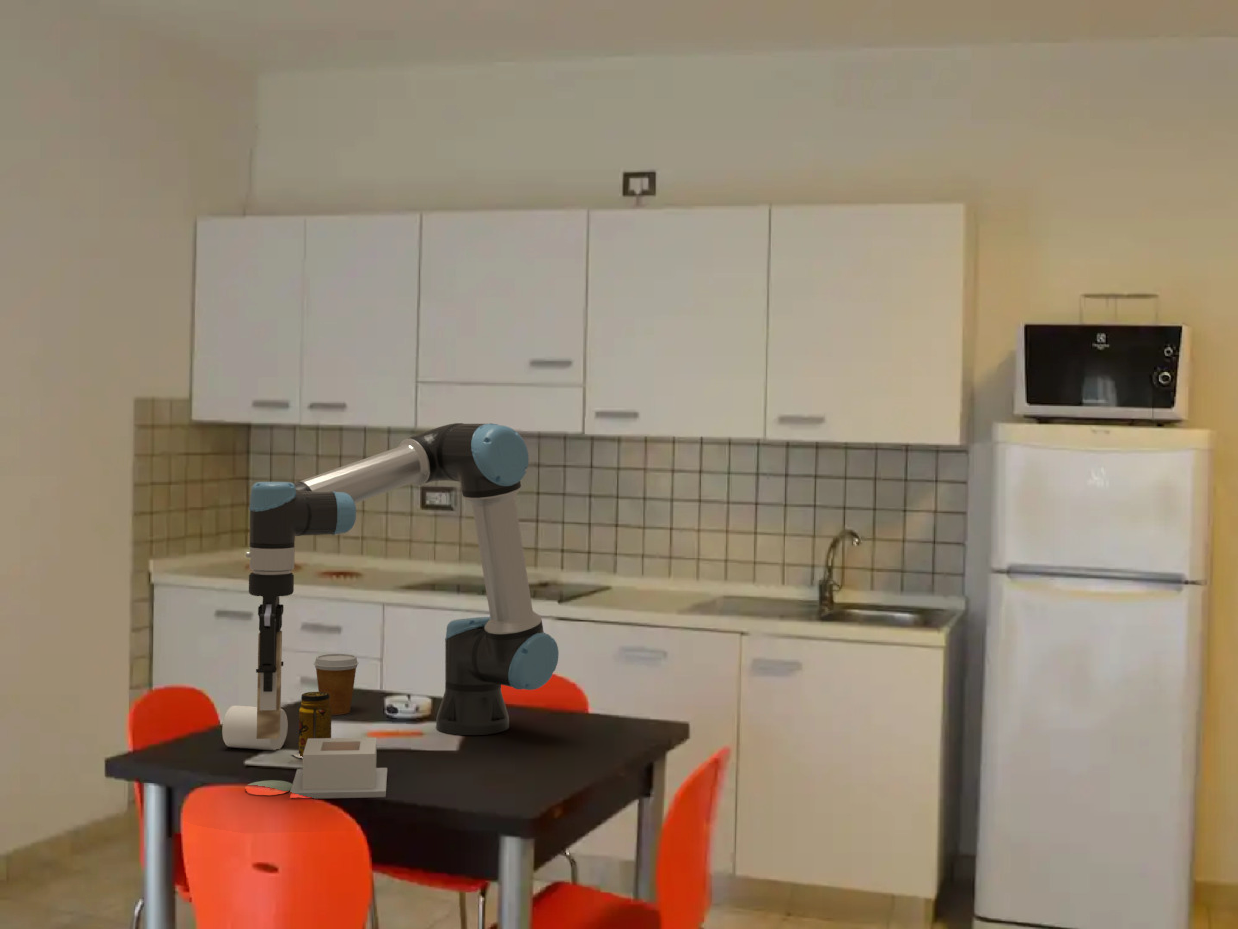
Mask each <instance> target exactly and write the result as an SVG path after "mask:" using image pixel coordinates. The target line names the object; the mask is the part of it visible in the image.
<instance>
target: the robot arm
mask: <svg viewBox="0 0 1238 929" xmlns="http://www.w3.org/2000/svg"><path fill="white" fill-rule="evenodd" d="M525 442H526V441H525V440H524V438H523V437H522V436H521V435H520V433H518V432H517V431H516V430H514V428H511V427H510V426H507V425H500V424H498V423H490V422H489V423H463V422H461V423H458V422H454V423H449V424H445V425H441V426H438V427H436V428H432V429H429V430H426V431H423V432H421V433H419V434H416V435H413V436H411V437H408V438H405V439H403V440H402V441H401V442H400V443H399V445H398V447H395V448H392V449H388V450H386V451H383V452H380V453H378V454H373V455H371V456H369V457H366V458H363V459H361V460H357V461H354V462H350V463H348V464H345V465H343V466H342V465H341V466H340V467H336V468H333V469H331V470H328V471H325V472H322V473H320V474H317V475H314V476H311V477H308V478H305V479H302V480H299V481H297V482H294V483H293V482H289V481H258V482H257V481H256V482H255V483H254V484H253V485H252V486H251V490H250V495H249V497H250V498H249V507H248V509H249V551H246V553H245V557H246V558H247V559H249V558H250V559H249V567H248V569H250V570H251V571H252V572H250V574H249V575H248V594H250V595H251V596H254V597H262V602H261V603H262V604H259V606H258V608H257V615H258V618H259V621H258V622H259V624H258V631H259V633H260V666H259V669H258V668H255V673H257V674H258V673H260V710H276V699H277V672H276V647H277V632H279V631H282V630H281V628H282V626H283V615H284V604H281V603H280V597H287V596H290V595H292V594H294V589H295V587H294V586H295V585H294V583H295V578H294V577H295V575H294V574H293V572H292V571H293V570H294V569H295V553H296V552H295V550H296V548H295V540H296V537H301V536H320V535H321V536H323V535H326V536H327V535H332V536H335V535H340V534H346V533H348V532H350V530H352V528H353V527H354V525H355V523H356V521H357V520H356V519H357V508H356V507H357V506H356V504H358V503H360V502H364V501H366V500H369V499H371V498H374V497H377V496H379V495H382V494H383V495H384V494H385V493H388V492H390V491H394V490H396V489H399V488H401V487H405V486H406V485H410V484H411V485H415V486H421V485H425V484H427V483H431V482H440V481H443V482H444V481H448V482H449V481H450V482H459V483H460V488H461V493H462V498H464V499H465V501H468V502H469V503H471V506H472V511H473V512H472V513H473V519H474V524H475V525H474V526H475V530H476V536H477V537H476V538H477V542H478V543H477V544H478V549H479V555H480V561H481V562H480V563H481V568H482V574H483V581H484V586H485V591H486V592H485V593H486V599H487V605H488V611H489V616H481V617H480V616H479V617H470V618H459V619H454V620H451V621H450V622H448V624H447V626H446V632H445V635H446V636H445V638H444V641H445V647H444V649H445V655H444V656H445V666H444V667H445V670H444V671H445V672H444V673H445V680H444V681H445V682H444V683H445V686H444V689H445V690H444V693H443V696H442V698H441V702H440V704H439V709H438V710H437V713H436V714H437V715H436V718H435V719H436V720H435V722H436V723H435V728H436V730H438V731H439V730H440V731H439V732H443V733H445V734H446V733H447V734H451V735H452V734H453V735H461V736H484V735H493V734H497V733H499V734H500V733H502V732H505V731H507V730H508V729H509V728H510V717H509V713H508V709H507V707H506V703H505V700H504V697H503V692H502V686H506V687H510V688H513V689H515V690H527V691H534V690H536V689H540V688H542V687H543V686H544V685H545V684H547V683H548V681H549V680H551V678H552V677H553V674H554V672H555V671H556V668H557V665H558V663H559V653H560V652H559V646H558V643H557V641H556V640H555V639H554V638H553V637H552V636H551V635H550V634H548V633H546V632H544V625H543V620H542V617H541V615H539V614H538V613H537V612H535V611H534V610H533V605H532V598H531V591H530V585H529V584H530V583H529V578H528V572H527V567H526V558H525V555H524V554H525V553H524V552H525V551H524V547H523V541H522V539H523V538H522V533H521V529H520V521H519V514H518V508H517V507H518V506H517V503H516V502H517V501H516V495H517V494H518V493H519V491H520V490H521V489H522V484H521V480H522V479H524V478H525V475H526V473H527V471H526V469H528V467H529V460H530V458H529V450H528V447H527V444H526V443H525ZM281 667H284V661H281Z"/></svg>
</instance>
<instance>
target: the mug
mask: <svg viewBox="0 0 1238 929" xmlns="http://www.w3.org/2000/svg"><path fill="white" fill-rule="evenodd" d="M288 724H289V723H288V716H287V713H286V712H285V710H284V709H282V708H281V712H280V735H279V738H278V739H257V706H248V705H231V706H230V707H229V708H228V709H227V711H226V713H225V715H224V717H223V722H222V728H221V729H222V730H221V732H222V733H221V734H222V740H223V742H224V743H225V745H226V746H227V747H229V748H237V749H252V750H263V751H265V750H266V751H277V750H276V749H279V750H280V749H282V747H283V746H284V744H285V741H286V738H287V735H288V728H289V727H288V726H289V725H288Z"/></svg>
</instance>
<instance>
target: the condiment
mask: <svg viewBox="0 0 1238 929" xmlns="http://www.w3.org/2000/svg"><path fill="white" fill-rule="evenodd" d="M329 698H330V696H329V694H328V693H326V692H319V691H308V692H304V693H302V694H301V703H300V705H301V706H300V708H299V710H298V754H300V756H302V757H303V753H304V749H305V746H306V743H307V740H308V739H310V738H332V715H331V714H332V713H331V712H332V710H331V708H330V706H329V704H330V701H329Z"/></svg>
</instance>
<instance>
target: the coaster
mask: <svg viewBox="0 0 1238 929" xmlns="http://www.w3.org/2000/svg"><path fill="white" fill-rule="evenodd" d="M292 784H293V783H292V782H289V781H285V780H275V779H273V780H271V779H270V780H261V781H253V782H251V783H249V784H247V785H258V786H265V787H270V788H275V789H278V790H282V791H291V787H292Z"/></svg>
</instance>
